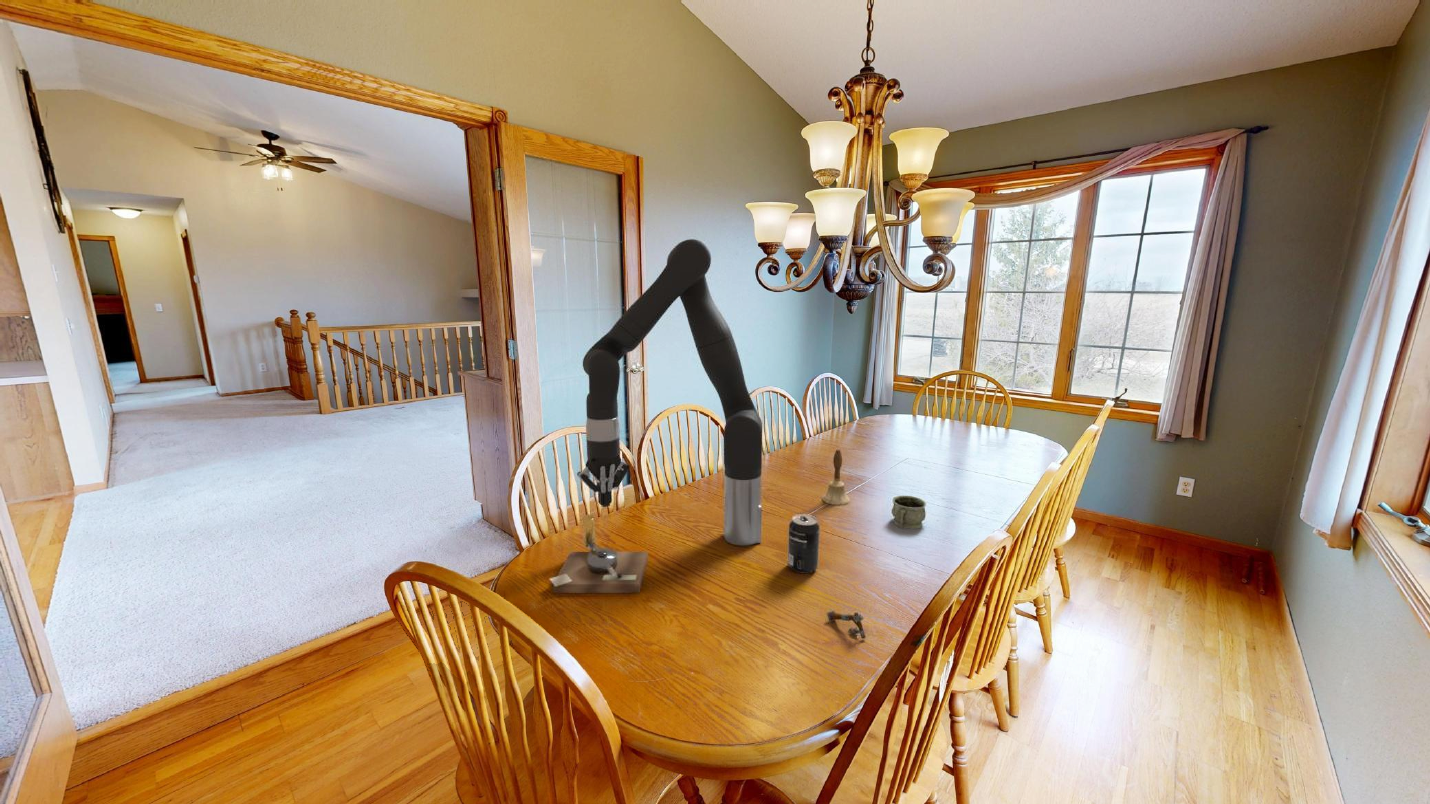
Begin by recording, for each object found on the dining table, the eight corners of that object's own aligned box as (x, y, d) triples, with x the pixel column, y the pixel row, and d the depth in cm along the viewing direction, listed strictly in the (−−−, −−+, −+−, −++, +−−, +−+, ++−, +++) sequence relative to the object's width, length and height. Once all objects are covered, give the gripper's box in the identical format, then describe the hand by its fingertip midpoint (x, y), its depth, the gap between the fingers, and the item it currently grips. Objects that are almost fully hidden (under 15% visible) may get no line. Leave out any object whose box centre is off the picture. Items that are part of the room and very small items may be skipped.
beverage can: (808, 558, 124) (810, 511, 121) (823, 572, 118) (825, 523, 115) (782, 563, 122) (784, 515, 119) (796, 578, 115) (798, 527, 113)
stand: (647, 559, 123) (647, 547, 123) (638, 595, 109) (638, 582, 108) (565, 559, 123) (564, 547, 122) (545, 595, 108) (544, 582, 108)
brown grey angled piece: (865, 640, 93) (858, 615, 94) (832, 635, 100) (826, 611, 100) (871, 636, 94) (864, 611, 95) (839, 632, 101) (832, 608, 101)
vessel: (899, 511, 151) (901, 491, 149) (931, 519, 145) (933, 498, 144) (883, 525, 141) (885, 504, 140) (916, 535, 136) (918, 512, 135)
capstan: (628, 576, 111) (627, 543, 110) (599, 585, 108) (597, 550, 106) (601, 542, 127) (599, 512, 125) (574, 548, 123) (573, 517, 122)
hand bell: (850, 506, 154) (853, 454, 151) (821, 504, 156) (824, 452, 152) (849, 496, 162) (852, 446, 159) (822, 493, 164) (824, 444, 160)
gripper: (620, 428, 128) (622, 494, 131) (569, 436, 120) (572, 507, 123) (636, 434, 122) (637, 504, 126) (582, 444, 114) (585, 518, 118)
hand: (605, 505), depth 124 cm, fingers closed
